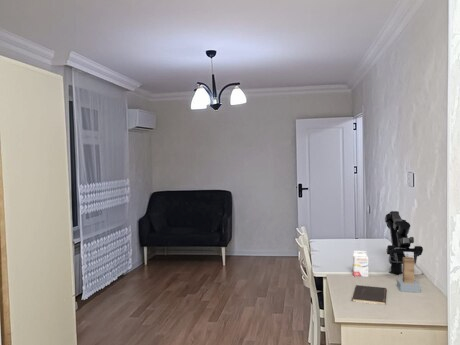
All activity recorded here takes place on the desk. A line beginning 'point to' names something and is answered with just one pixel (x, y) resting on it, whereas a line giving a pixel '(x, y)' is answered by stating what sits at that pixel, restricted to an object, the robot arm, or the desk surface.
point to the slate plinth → (408, 286)
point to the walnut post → (408, 270)
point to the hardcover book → (370, 294)
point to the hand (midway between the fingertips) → (406, 263)
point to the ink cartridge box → (360, 264)
